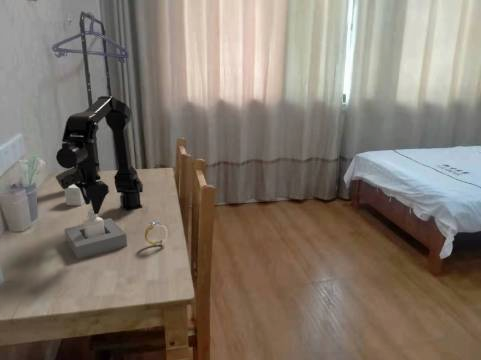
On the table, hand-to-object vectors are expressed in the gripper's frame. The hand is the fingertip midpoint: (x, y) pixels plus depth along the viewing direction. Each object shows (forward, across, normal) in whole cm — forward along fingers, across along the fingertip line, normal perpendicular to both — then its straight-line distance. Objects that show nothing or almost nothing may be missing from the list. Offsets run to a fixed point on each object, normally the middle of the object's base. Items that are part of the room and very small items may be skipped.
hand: (91, 208), depth 118 cm
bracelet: (+12, +12, +15) cm, 23 cm away
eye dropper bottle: (+12, 0, 0) cm, 12 cm away
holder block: (+12, 0, 0) cm, 12 cm away
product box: (+12, -39, +4) cm, 41 cm away
